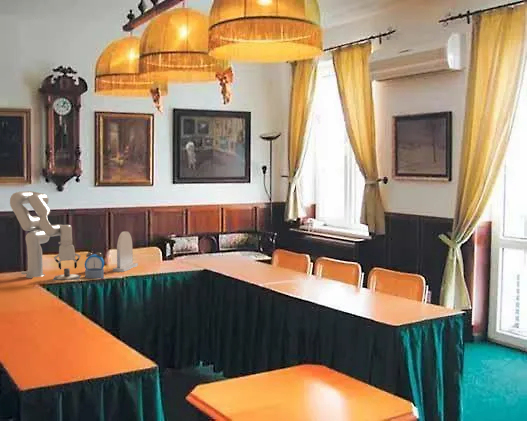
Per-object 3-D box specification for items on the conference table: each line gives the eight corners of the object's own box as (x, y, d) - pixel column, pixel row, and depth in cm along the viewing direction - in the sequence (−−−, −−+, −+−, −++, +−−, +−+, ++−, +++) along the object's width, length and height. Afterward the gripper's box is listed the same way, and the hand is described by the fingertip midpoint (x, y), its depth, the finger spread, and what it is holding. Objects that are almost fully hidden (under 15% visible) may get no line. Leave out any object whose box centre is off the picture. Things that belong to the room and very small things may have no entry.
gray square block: (84, 280, 432) (84, 271, 432) (85, 276, 444) (85, 268, 443) (103, 279, 435) (103, 270, 434) (103, 276, 446) (103, 268, 446)
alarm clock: (84, 274, 455) (84, 253, 454) (85, 272, 461) (85, 251, 460) (103, 273, 457) (103, 252, 455) (104, 272, 463) (104, 251, 462)
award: (126, 265, 494) (126, 229, 492) (137, 265, 492) (137, 229, 490) (112, 271, 466) (111, 233, 464) (123, 272, 465) (123, 233, 463)
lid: (54, 279, 427) (53, 270, 426) (56, 276, 441) (56, 267, 441) (77, 279, 430) (77, 270, 429) (79, 275, 445) (79, 266, 444)
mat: (52, 281, 426) (52, 280, 426) (55, 277, 442) (55, 275, 442) (79, 281, 429) (79, 279, 429) (81, 276, 446) (81, 275, 446)
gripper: (52, 244, 429) (53, 270, 430) (79, 243, 432) (80, 268, 433) (53, 243, 436) (55, 268, 437) (80, 242, 439) (81, 267, 440)
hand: (67, 268), depth 435 cm, fingers open, 9 cm apart
